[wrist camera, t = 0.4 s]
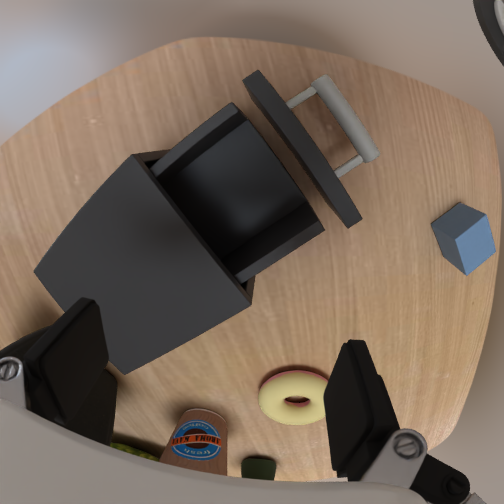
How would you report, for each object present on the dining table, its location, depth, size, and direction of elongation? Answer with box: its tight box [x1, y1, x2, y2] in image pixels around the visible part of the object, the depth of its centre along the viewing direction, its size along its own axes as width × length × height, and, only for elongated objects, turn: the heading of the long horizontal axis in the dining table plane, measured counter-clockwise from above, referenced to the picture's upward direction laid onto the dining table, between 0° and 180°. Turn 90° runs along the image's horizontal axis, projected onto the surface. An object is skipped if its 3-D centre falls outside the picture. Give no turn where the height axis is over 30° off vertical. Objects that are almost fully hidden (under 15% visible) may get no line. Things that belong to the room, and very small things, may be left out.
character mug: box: [241, 459, 276, 481], centre depth 37 cm, size 11×7×13 cm, turn 13°
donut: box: [258, 370, 328, 425], centre depth 34 cm, size 10×5×9 cm
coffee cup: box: [159, 409, 227, 476], centre depth 33 cm, size 10×10×12 cm
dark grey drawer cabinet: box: [34, 150, 255, 375], centre depth 24 cm, size 15×13×10 cm
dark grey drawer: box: [149, 70, 380, 284], centre depth 21 cm, size 18×11×8 cm, turn 126°
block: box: [431, 203, 496, 276], centre depth 24 cm, size 4×4×5 cm
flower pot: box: [0, 325, 117, 447], centre depth 30 cm, size 19×19×17 cm
